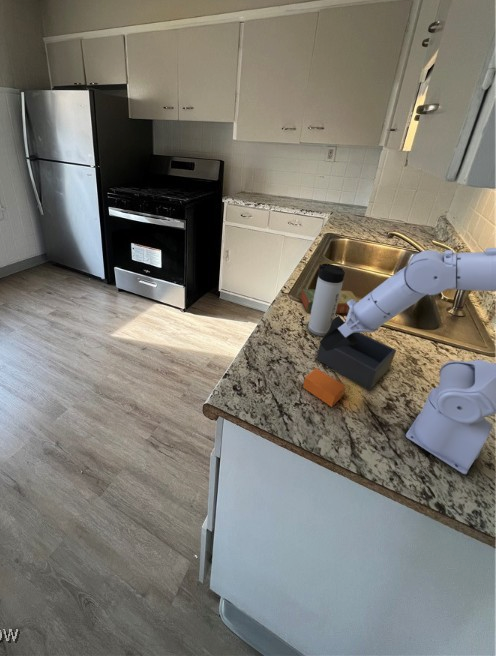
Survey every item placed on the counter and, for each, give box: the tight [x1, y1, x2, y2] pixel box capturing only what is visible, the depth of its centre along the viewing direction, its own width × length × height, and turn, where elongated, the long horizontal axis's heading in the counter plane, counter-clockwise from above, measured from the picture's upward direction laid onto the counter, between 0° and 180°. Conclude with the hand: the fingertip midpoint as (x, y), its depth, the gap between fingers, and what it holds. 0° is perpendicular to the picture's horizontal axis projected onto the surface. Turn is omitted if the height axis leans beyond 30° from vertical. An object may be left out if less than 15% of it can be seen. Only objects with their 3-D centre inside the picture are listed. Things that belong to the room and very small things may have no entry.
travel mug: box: [307, 262, 346, 337], centre depth 85 cm, size 6×7×20 cm
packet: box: [302, 367, 346, 408], centre depth 68 cm, size 7×4×3 cm, turn 41°
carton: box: [300, 288, 360, 315], centre depth 100 cm, size 8×16×4 cm, turn 89°
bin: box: [316, 332, 397, 392], centre depth 76 cm, size 13×11×6 cm
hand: (332, 340), depth 65 cm, fingers open, 7 cm apart
